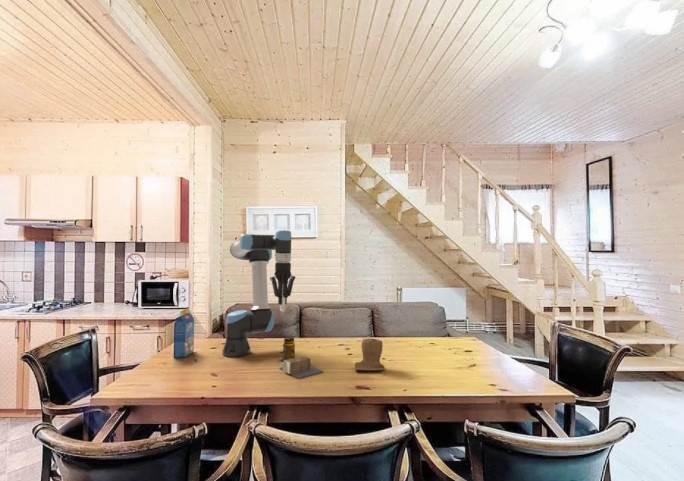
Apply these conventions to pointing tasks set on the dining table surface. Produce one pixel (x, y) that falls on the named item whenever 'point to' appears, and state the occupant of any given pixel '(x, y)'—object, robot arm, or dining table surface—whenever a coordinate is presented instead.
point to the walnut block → (296, 364)
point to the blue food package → (184, 335)
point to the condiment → (288, 349)
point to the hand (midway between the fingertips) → (282, 311)
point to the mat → (306, 372)
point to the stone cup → (370, 355)
